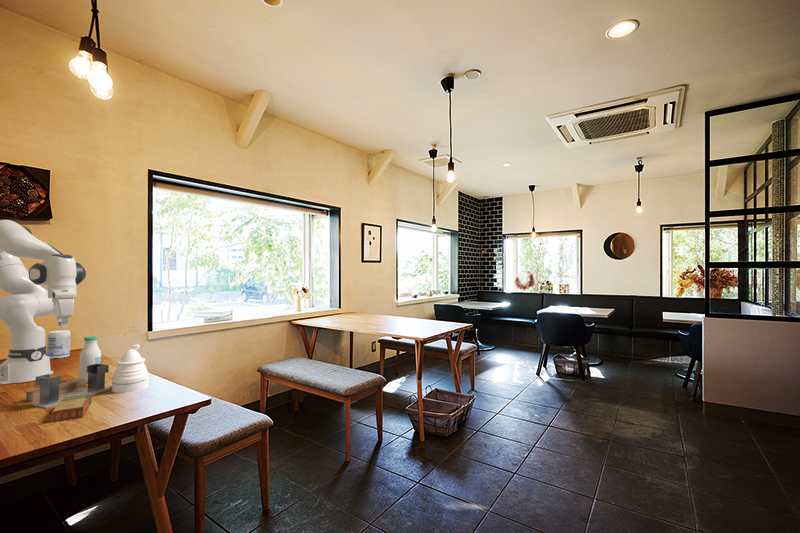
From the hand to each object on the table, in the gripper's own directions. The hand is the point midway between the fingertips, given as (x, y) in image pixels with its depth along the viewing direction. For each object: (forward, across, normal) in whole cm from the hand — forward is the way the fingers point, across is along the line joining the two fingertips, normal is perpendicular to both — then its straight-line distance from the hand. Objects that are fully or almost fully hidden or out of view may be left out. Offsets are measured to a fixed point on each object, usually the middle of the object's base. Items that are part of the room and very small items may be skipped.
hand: (62, 326), depth 152 cm
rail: (+27, +1, -2) cm, 27 cm away
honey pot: (+28, +14, +20) cm, 37 cm away
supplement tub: (+25, -78, +8) cm, 82 cm away
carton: (+28, +30, -1) cm, 41 cm away
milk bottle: (+27, -11, +11) cm, 31 cm away
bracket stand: (+27, +11, +2) cm, 29 cm away
